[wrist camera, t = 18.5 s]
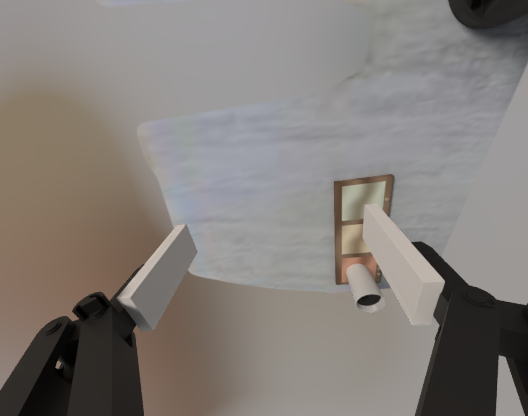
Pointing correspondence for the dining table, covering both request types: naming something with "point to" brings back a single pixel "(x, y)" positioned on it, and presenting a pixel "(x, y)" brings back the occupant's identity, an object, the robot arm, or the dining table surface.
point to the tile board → (357, 222)
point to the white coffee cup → (364, 289)
